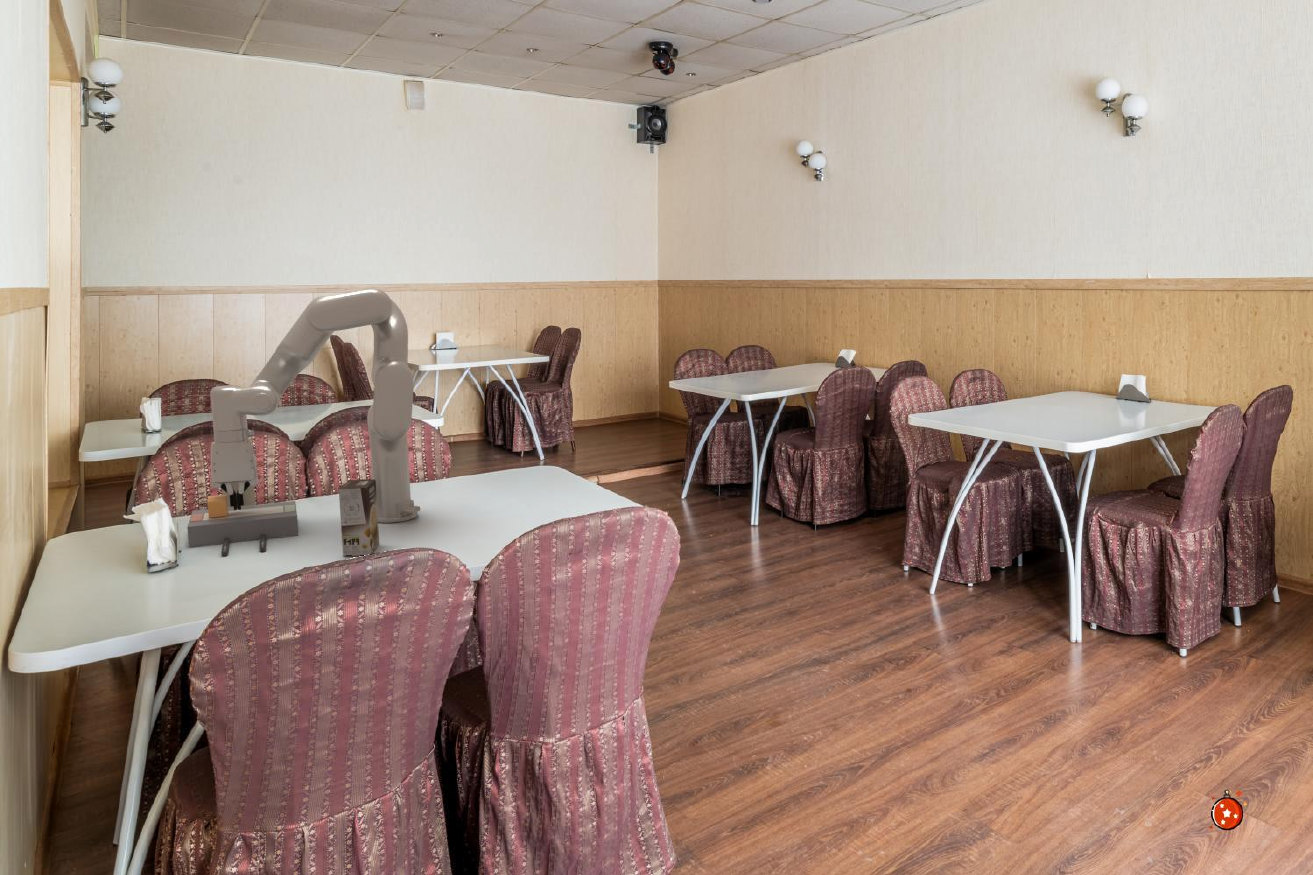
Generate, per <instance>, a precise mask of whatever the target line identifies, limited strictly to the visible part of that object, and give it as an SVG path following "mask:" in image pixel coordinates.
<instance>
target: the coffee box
mask: <svg viewBox="0 0 1313 875" xmlns="http://www.w3.org/2000/svg"><path fill="white" fill-rule="evenodd" d="M338 497H339V498H338V499H339V511H340V512H339V513H340V527H341V544H342V545H341V546H342V556H343V557H347V556H346V555H352V556H351V557H361V556H360V555H368V554H371V555H372V554H373V552H374V551H375V550H376V549H377V548H378V546H379V545H380V534H379V533H380V531H379V522H378V512H377V496H376V479H372V478H371V479H370V478H368V479H365V478H363V479H350V480H348V481H346V482H345V483H344V484H342V485H341V486H340V487H338ZM372 551H373V552H372Z"/></svg>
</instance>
